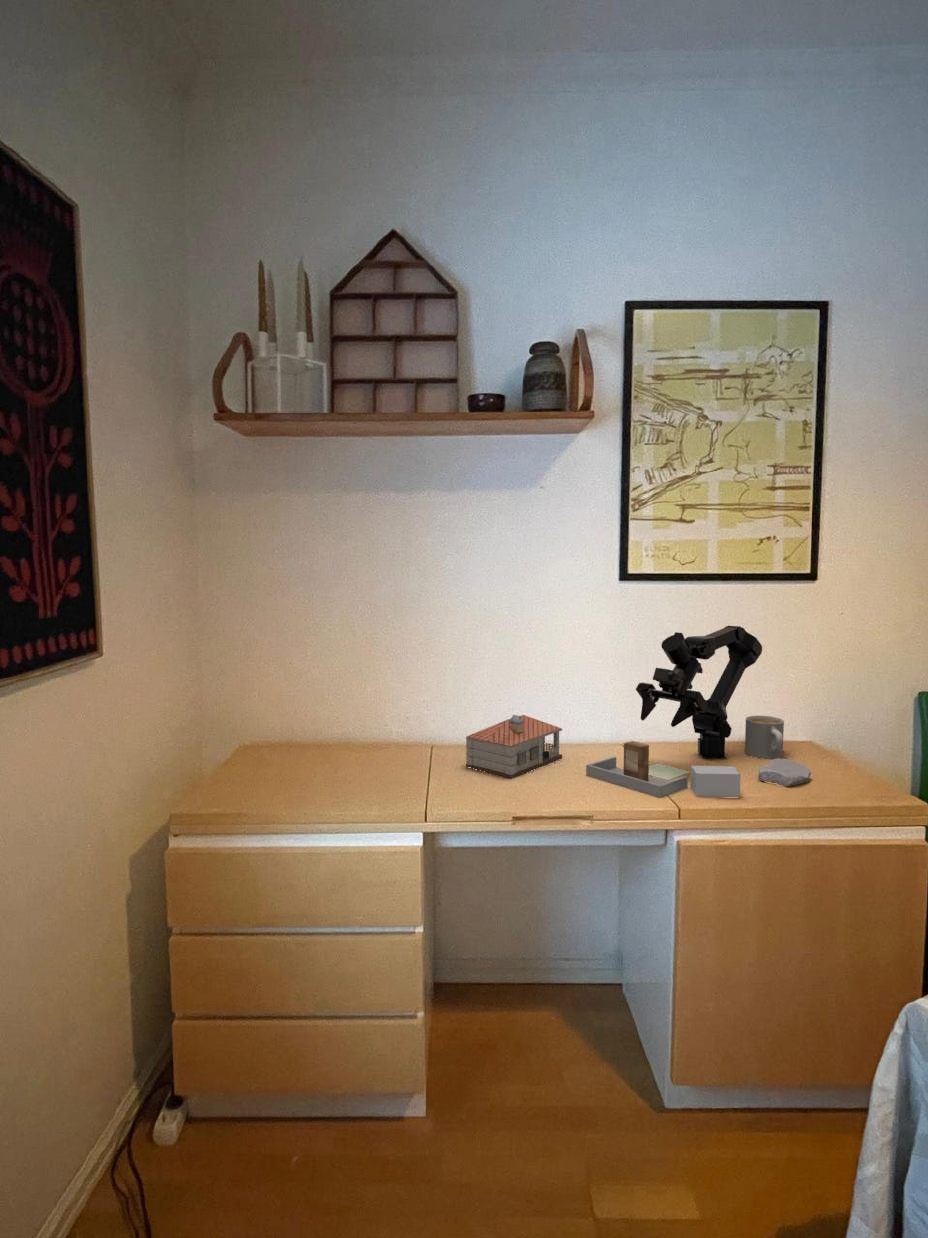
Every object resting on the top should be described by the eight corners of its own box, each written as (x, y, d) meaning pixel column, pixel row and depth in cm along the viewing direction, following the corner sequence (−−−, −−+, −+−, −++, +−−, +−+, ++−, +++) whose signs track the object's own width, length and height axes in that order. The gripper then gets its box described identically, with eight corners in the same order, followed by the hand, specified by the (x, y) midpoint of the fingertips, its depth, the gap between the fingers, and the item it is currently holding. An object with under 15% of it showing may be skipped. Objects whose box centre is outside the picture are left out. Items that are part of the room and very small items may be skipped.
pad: (658, 764, 195) (658, 763, 195) (690, 773, 188) (690, 771, 188) (635, 772, 189) (635, 770, 189) (667, 781, 181) (667, 780, 181)
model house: (512, 780, 185) (511, 723, 183) (466, 768, 195) (465, 714, 193) (563, 759, 202) (563, 707, 201) (518, 749, 213) (518, 699, 211)
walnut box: (632, 777, 184) (632, 740, 183) (648, 781, 180) (648, 744, 179) (623, 780, 182) (623, 743, 181) (639, 785, 178) (640, 747, 177)
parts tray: (613, 767, 193) (613, 756, 193) (687, 788, 176) (687, 776, 176) (586, 776, 186) (586, 765, 186) (660, 799, 169) (660, 786, 169)
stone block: (812, 785, 183) (773, 769, 190) (816, 768, 182) (777, 753, 189) (793, 799, 175) (753, 782, 182) (797, 781, 174) (757, 764, 180)
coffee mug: (740, 749, 210) (741, 715, 209) (775, 749, 209) (776, 715, 208) (755, 762, 196) (756, 726, 196) (792, 763, 196) (794, 727, 195)
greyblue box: (732, 790, 175) (733, 766, 174) (739, 799, 169) (740, 774, 168) (690, 789, 176) (691, 765, 175) (696, 798, 170) (696, 773, 169)
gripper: (640, 652, 194) (613, 698, 188) (702, 660, 180) (675, 710, 174) (657, 678, 200) (632, 723, 194) (718, 687, 186) (693, 736, 180)
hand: (656, 722), depth 185 cm, fingers open, 9 cm apart
